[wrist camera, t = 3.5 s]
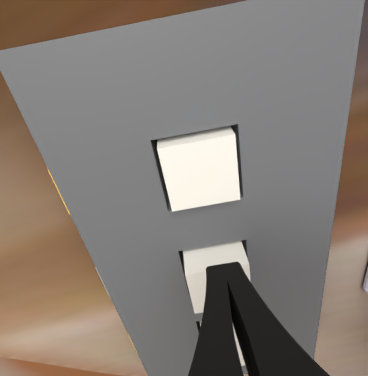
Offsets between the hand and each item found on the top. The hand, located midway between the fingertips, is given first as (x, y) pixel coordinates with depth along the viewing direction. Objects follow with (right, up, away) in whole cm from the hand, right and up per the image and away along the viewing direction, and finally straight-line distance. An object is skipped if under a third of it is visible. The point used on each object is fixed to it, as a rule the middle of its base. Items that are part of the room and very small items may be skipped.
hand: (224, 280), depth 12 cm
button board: (0, -1, +10) cm, 10 cm away
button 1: (-1, +6, +6) cm, 8 cm away
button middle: (+1, -2, +9) cm, 9 cm away
